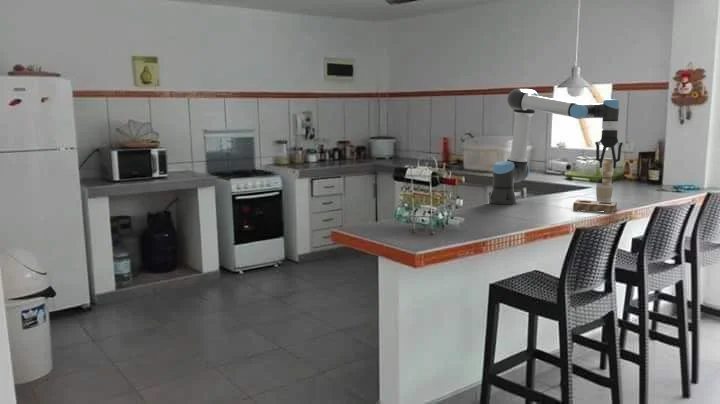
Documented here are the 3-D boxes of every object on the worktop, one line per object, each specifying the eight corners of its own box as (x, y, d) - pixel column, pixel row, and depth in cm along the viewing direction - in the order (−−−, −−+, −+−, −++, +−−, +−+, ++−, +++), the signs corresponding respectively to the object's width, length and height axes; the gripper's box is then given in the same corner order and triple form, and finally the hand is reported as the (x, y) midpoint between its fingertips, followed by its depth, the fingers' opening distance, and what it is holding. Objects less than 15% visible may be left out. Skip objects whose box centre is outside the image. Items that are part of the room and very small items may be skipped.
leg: (601, 185, 305) (603, 158, 303) (603, 184, 308) (604, 158, 306) (610, 185, 303) (611, 158, 301) (611, 184, 306) (612, 158, 304)
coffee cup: (613, 206, 321) (615, 179, 318) (596, 205, 322) (598, 179, 320) (610, 203, 329) (611, 177, 327) (593, 203, 331) (594, 177, 329)
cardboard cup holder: (573, 210, 310) (573, 202, 310) (576, 206, 321) (577, 199, 320) (613, 213, 300) (614, 205, 300) (616, 209, 311) (616, 202, 310)
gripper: (591, 129, 302) (588, 174, 306) (627, 130, 294) (624, 176, 297) (593, 129, 308) (591, 173, 312) (628, 129, 300) (625, 174, 304)
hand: (607, 174), depth 305 cm, fingers closed on leg, 4 cm apart
